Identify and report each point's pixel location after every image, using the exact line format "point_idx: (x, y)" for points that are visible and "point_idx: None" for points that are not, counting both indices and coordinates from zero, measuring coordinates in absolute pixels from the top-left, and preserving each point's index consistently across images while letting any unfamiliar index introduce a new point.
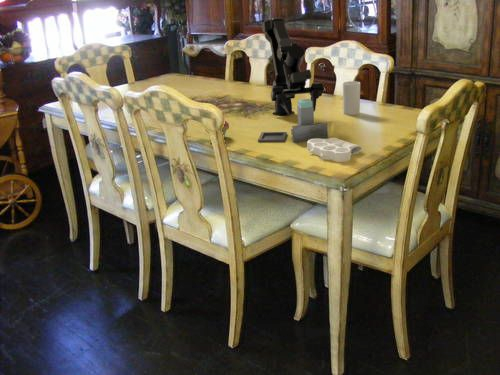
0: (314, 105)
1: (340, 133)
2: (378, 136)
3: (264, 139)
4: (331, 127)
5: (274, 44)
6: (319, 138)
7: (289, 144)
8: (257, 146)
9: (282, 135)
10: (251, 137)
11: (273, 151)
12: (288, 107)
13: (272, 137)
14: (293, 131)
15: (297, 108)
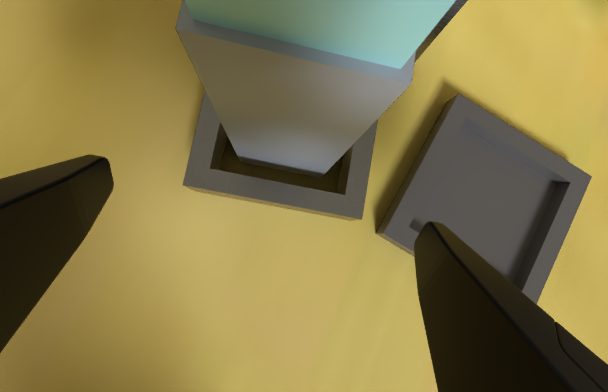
0: (39, 179)
1: (56, 78)
2: None
3: (557, 160)
4: None
5: None
6: None
7: (428, 64)
8: (587, 129)
9: (413, 220)
10: (575, 308)
11: (539, 11)
12: (470, 263)
13: (480, 215)
14: None
15: (392, 101)
